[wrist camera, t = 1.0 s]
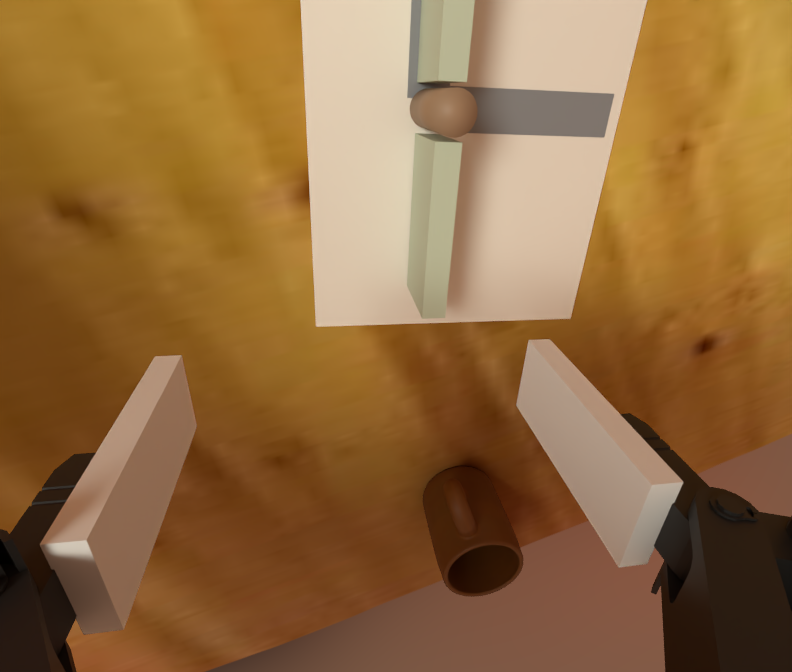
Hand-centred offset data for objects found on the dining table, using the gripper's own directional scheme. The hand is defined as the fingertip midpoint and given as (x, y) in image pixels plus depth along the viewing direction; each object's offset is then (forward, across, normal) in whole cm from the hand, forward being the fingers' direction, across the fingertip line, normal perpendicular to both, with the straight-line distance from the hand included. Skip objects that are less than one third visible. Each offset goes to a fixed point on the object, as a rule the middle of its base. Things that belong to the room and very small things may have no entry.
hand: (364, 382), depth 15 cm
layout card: (+21, +9, +8) cm, 24 cm away
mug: (+21, +11, -26) cm, 35 cm away
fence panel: (+20, +6, +1) cm, 21 cm away
